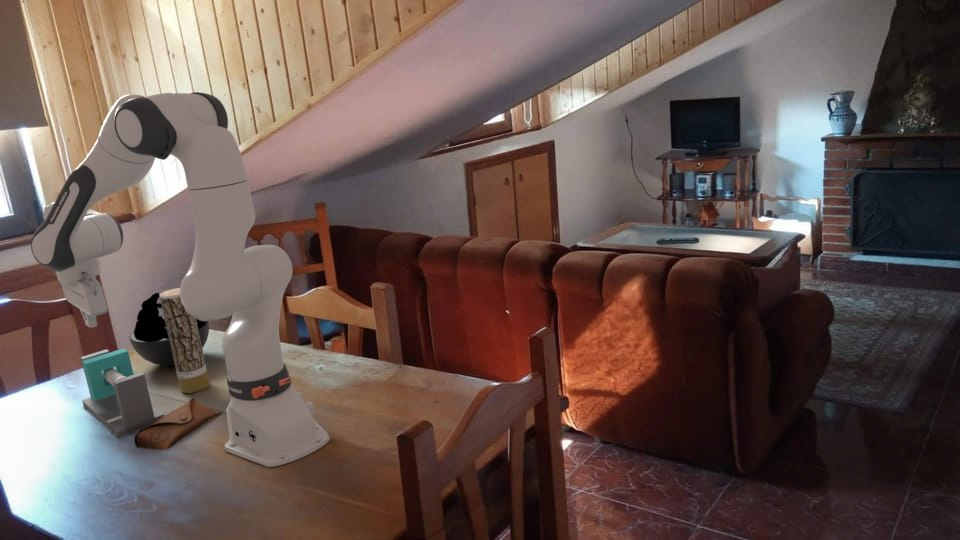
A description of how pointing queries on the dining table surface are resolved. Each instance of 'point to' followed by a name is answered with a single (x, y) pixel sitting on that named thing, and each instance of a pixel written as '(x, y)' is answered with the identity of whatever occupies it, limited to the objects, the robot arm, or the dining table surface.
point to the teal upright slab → (104, 362)
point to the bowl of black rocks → (157, 334)
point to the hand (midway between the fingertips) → (91, 326)
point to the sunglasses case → (174, 426)
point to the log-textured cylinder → (184, 343)
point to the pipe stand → (123, 402)
